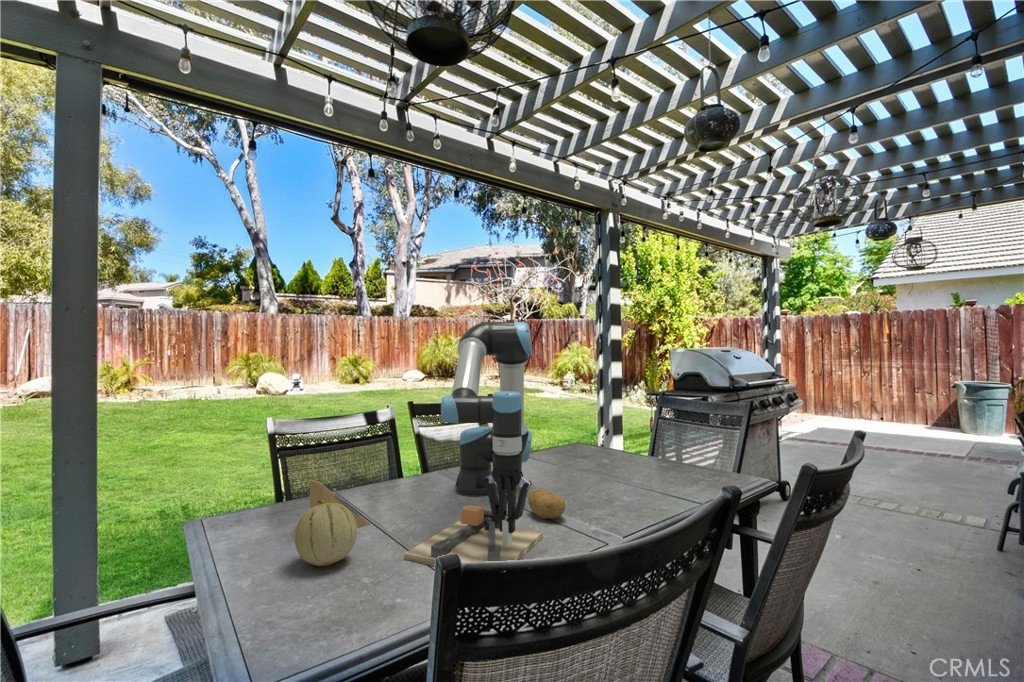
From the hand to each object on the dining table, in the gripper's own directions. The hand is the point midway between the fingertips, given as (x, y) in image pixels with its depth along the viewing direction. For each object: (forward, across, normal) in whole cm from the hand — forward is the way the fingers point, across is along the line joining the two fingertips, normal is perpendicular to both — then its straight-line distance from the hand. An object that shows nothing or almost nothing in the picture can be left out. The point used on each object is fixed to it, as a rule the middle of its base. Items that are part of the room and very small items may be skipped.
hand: (507, 544), depth 125 cm
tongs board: (+3, -9, +1) cm, 10 cm away
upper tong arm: (+1, -5, +2) cm, 6 cm away
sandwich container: (+3, -53, -3) cm, 53 cm away
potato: (+3, -1, +31) cm, 31 cm away
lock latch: (-1, -14, +7) cm, 16 cm away
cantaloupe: (+3, -38, -23) cm, 45 cm away
